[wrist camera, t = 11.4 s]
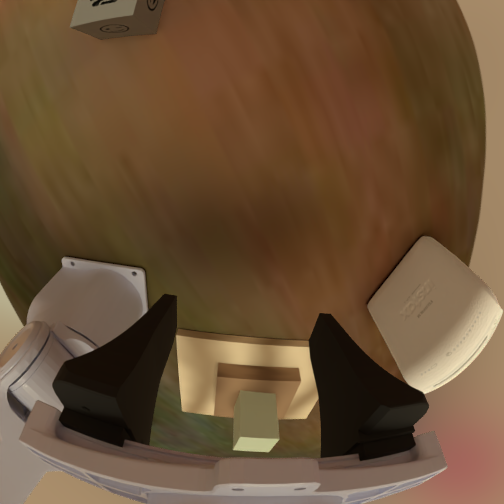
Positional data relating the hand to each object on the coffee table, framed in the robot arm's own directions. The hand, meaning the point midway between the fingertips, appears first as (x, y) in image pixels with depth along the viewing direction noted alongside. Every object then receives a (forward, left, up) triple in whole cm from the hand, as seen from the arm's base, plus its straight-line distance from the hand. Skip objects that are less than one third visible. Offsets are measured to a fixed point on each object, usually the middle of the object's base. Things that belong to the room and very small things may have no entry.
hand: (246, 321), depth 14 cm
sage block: (+3, -19, -7) cm, 21 cm away
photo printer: (+16, -2, -11) cm, 20 cm away
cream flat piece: (+3, -19, -10) cm, 22 cm away
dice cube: (-12, +19, -11) cm, 24 cm away
